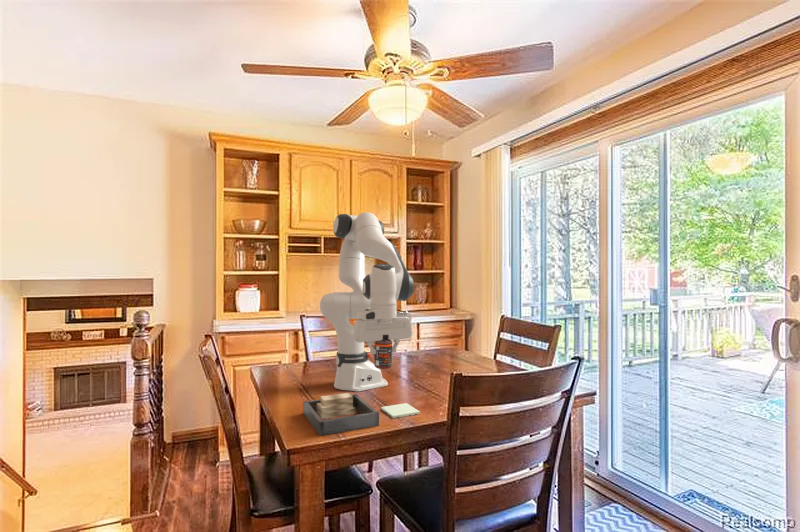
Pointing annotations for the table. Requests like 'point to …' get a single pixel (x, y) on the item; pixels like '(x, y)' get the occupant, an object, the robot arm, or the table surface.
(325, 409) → the offcut stack
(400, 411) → the mat
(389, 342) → the supplement bottle
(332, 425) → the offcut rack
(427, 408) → the table surface
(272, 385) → the table surface
